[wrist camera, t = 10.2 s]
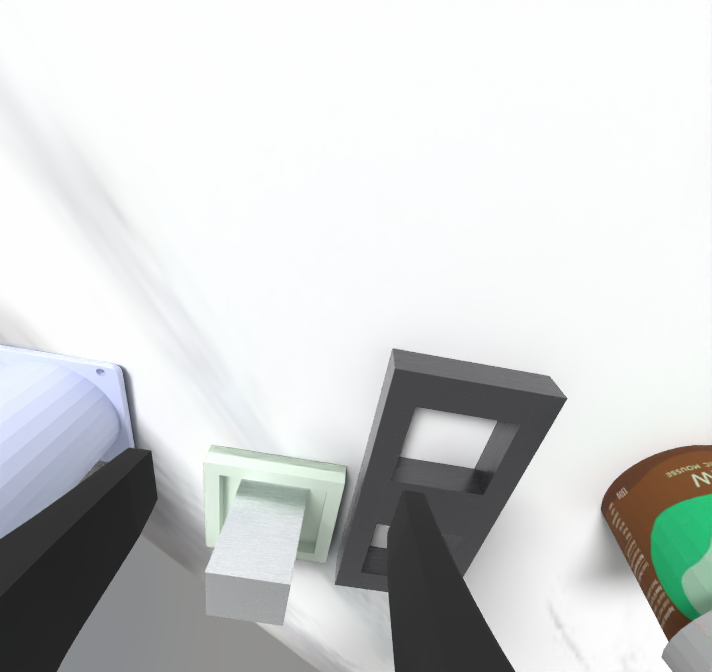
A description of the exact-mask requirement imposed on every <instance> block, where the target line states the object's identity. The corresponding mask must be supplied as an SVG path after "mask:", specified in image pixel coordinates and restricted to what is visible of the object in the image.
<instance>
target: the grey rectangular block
mask: <svg viewBox="0 0 712 672" xmlns="http://www.w3.org/2000/svg"><path fill="white" fill-rule="evenodd" d="M307 494H308V489H307V488H300V487H294V486H287V485H281V484H274V483H268V482H261V481H255V480H248V479H242V480H241V482H240V485H239V487H238V490H237V492H236V495H235V497H234V500H233V502H232V505H231V507H230V510H229V512H228V515H227V518H226V520H225V523H224V525H223V528H222V530H221V533H220V535H219V538H218V540H217V543H216V545H215V548H214V550H213V553H212V555H211V558H210V560H209V563H208V565H207V568H206V571H205V600H206V602H205V603H206V615H210V616H217V617H224V618H231V619H238V620H245V621H253V622H260V623H267V624H274V625H281V626H283V622H284V617H285V611H286V606H287V601H288V596H289V590H290V585H291V580H292V574H293V569H294V563H295V558H296V553H297V547H298V542H299V537H300V531H301V526H302V520H303V515H304V510H305V504H306V499H307Z"/></svg>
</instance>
